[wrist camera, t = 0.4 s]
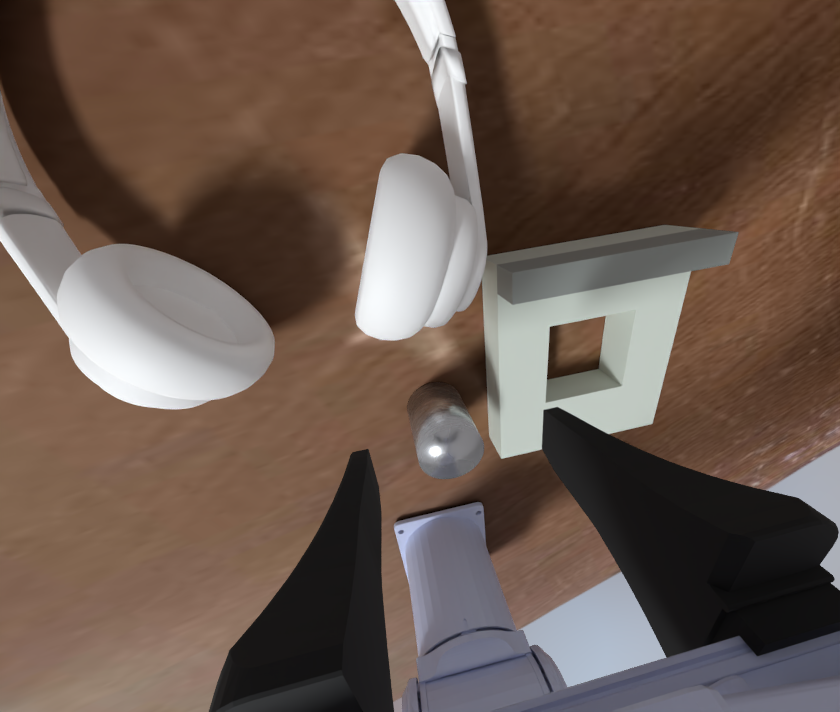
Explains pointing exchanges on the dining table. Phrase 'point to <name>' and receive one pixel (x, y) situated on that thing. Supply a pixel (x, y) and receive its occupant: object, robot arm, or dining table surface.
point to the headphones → (220, 304)
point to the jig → (579, 300)
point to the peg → (443, 431)
